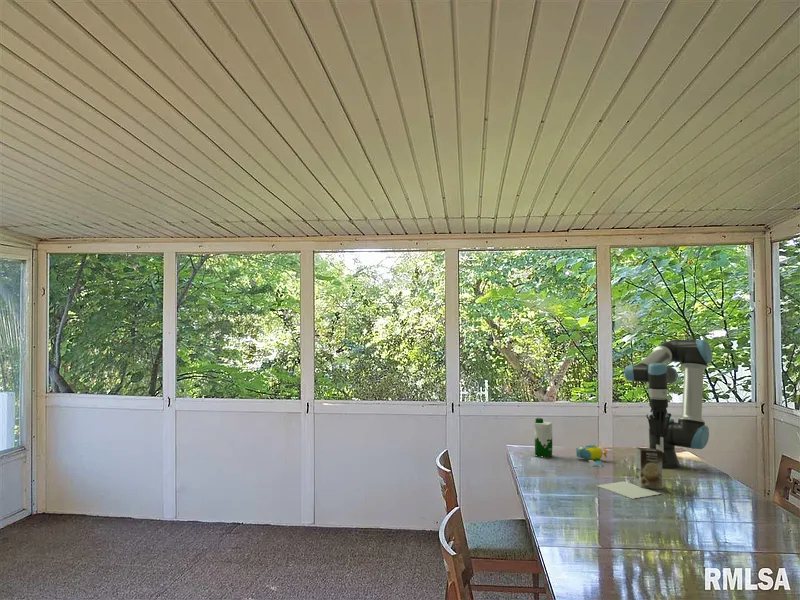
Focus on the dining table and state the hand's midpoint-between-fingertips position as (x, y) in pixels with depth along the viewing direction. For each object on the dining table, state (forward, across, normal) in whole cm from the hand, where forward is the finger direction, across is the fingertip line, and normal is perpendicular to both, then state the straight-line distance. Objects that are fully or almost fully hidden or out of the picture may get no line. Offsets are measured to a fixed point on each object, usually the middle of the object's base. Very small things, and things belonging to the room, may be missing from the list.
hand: (659, 451), depth 239 cm
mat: (+15, -19, 0) cm, 24 cm away
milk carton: (+15, -12, +66) cm, 69 cm away
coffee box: (+15, -7, 0) cm, 16 cm away
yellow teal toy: (+15, +5, +48) cm, 51 cm away
